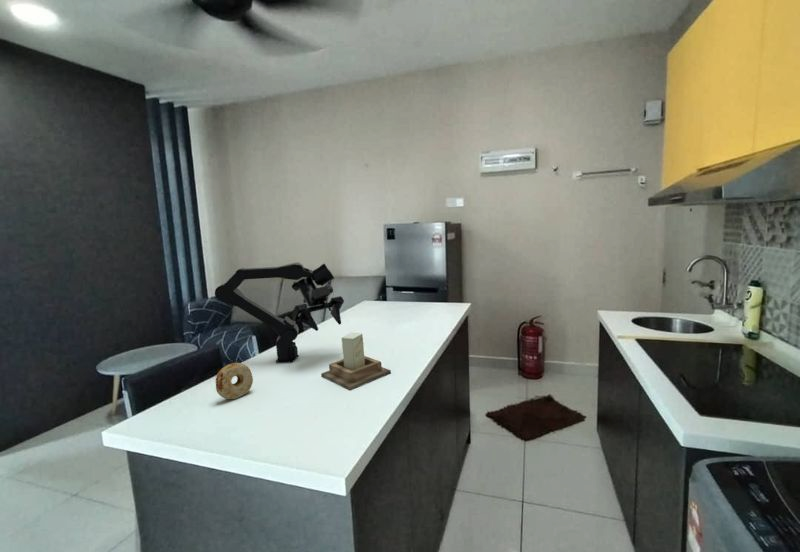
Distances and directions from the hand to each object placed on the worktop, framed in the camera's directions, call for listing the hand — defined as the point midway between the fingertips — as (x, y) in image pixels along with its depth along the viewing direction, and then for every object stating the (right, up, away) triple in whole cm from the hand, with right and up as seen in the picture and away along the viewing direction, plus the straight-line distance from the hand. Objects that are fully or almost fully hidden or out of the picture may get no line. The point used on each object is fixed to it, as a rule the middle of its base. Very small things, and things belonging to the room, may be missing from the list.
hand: (329, 326), depth 132 cm
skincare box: (+10, -14, -9) cm, 19 cm away
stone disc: (-24, -18, -19) cm, 35 cm away
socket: (+10, -14, -9) cm, 20 cm away
